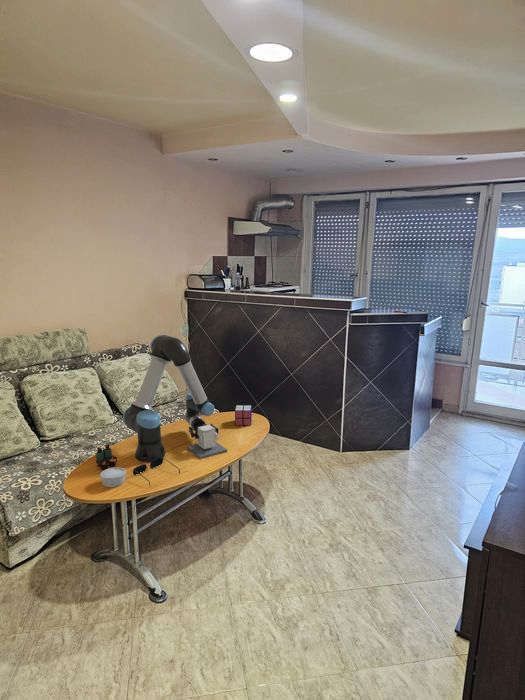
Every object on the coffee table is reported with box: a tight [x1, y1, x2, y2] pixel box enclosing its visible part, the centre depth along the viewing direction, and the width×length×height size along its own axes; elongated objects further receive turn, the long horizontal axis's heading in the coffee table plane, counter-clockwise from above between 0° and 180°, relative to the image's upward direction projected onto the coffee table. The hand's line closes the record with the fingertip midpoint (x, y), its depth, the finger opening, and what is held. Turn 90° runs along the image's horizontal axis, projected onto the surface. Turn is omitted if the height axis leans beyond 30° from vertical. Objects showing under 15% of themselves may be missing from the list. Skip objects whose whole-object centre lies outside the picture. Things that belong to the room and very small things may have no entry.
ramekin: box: [99, 466, 127, 488], centre depth 200 cm, size 11×11×5 cm
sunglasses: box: [132, 457, 181, 486], centre depth 208 cm, size 17×15×5 cm
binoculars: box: [95, 443, 118, 471], centre depth 215 cm, size 9×11×10 cm
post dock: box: [186, 441, 228, 460], centre depth 235 cm, size 16×16×8 cm
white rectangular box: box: [197, 424, 217, 449], centre depth 234 cm, size 7×7×10 cm
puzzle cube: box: [234, 405, 253, 426], centre depth 275 cm, size 10×10×10 cm
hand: (209, 438), depth 230 cm, fingers closed on white rectangular box, 8 cm apart
